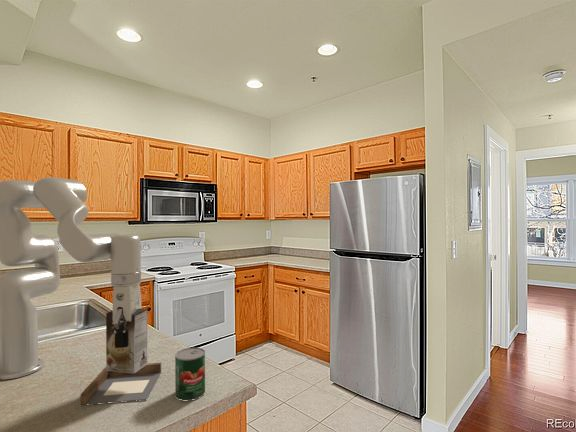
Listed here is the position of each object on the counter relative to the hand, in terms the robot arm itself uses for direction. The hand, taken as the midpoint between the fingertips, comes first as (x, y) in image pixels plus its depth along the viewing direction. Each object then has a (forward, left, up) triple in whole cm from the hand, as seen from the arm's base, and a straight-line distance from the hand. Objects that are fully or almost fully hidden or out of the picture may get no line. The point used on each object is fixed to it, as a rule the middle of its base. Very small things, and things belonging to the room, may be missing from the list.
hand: (127, 340), depth 94 cm
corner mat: (-1, +1, -14) cm, 14 cm away
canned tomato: (+18, -5, -14) cm, 23 cm away
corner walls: (-1, +1, -14) cm, 14 cm away
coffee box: (0, 0, -8) cm, 8 cm away
